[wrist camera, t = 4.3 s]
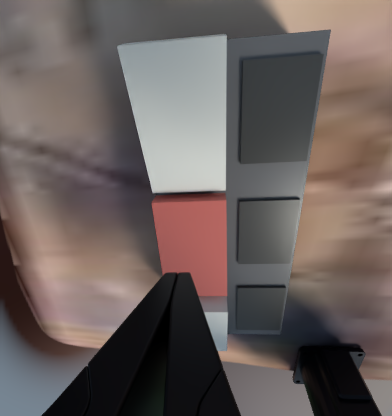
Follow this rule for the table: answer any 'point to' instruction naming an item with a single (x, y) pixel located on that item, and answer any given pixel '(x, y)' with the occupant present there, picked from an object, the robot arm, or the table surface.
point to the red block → (194, 238)
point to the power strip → (267, 168)
